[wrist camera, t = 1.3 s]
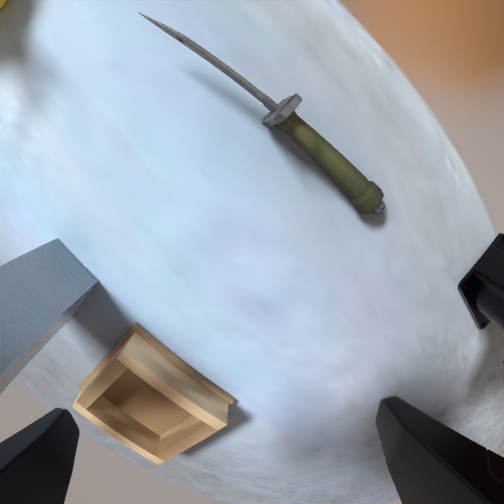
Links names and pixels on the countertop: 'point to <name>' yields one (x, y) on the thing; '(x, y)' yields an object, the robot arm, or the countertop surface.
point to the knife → (300, 134)
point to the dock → (152, 398)
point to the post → (37, 302)
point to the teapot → (2, 3)
